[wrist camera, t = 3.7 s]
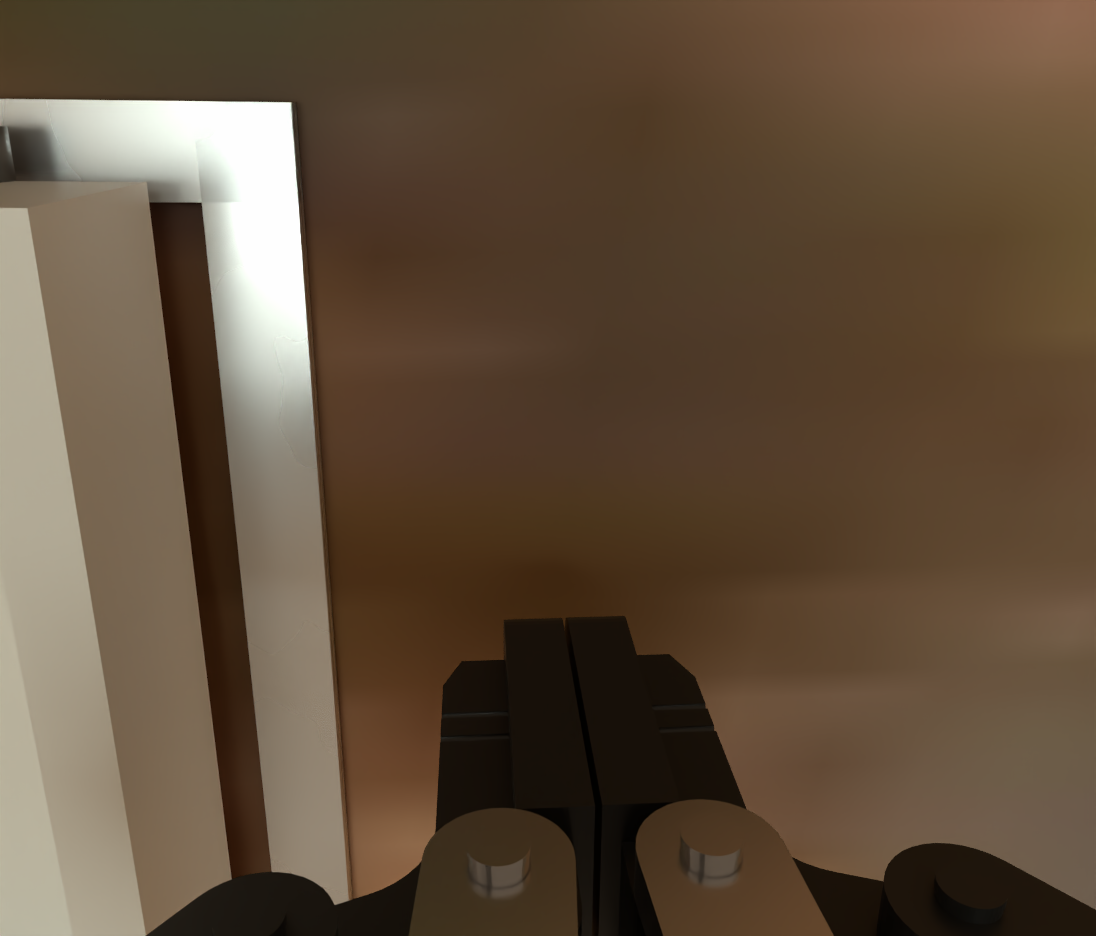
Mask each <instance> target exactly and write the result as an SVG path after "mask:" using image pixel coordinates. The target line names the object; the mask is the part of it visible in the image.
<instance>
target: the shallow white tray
mask: <svg viewBox="0 0 1096 936" xmlns="http://www.w3.org/2000/svg"><path fill="white" fill-rule="evenodd" d="M229 880H232V878H231V869H230V861H229V853H228V845H227V837H226V828H225V820H224V812H223V804H222V796H221V788H220V779H219V771H218V763H217V755H216V747H215V738H214V730H213V722H212V714H211V706H210V698H209V689H208V681H207V673H206V665H205V657H204V648H203V640H202V632H201V624H200V616H199V608H198V599H197V591H196V583H195V575H194V567H193V558H192V550H191V542H190V534H189V526H188V517H187V509H186V501H185V493H184V485H183V477H182V468H181V460H180V452H179V444H178V436H177V427H176V419H175V411H174V403H173V395H172V387H171V378H170V370H169V362H168V354H167V346H166V337H165V329H164V321H163V313H162V305H161V297H160V288H159V280H158V272H157V264H156V256H155V247H154V239H153V231H152V223H151V215H150V207H149V198H148V190H147V182H77V181H16V176H15V170H14V164H13V158H12V152H11V146H10V140H9V134H8V128H7V126H0V936H146V935H147V934H149V933H150V932H151V931H153V930H154V929H155V928H157V927H158V926H159V925H161V924H162V923H163V922H165V921H166V920H167V919H169V918H170V917H171V916H173V915H174V914H176V913H177V912H178V911H180V910H181V909H182V908H184V907H185V906H186V905H188V904H189V903H190V902H192V901H193V900H194V899H196V898H197V897H199V896H200V895H202V894H203V893H205V892H206V891H208V890H209V889H211V888H213V887H215V886H217V885H219V884H221V883H223V882H226V881H229Z"/></svg>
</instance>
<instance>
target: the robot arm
mask: <svg viewBox="0 0 1096 936" xmlns="http://www.w3.org/2000/svg"><path fill="white" fill-rule="evenodd" d="M146 936H1096V910H1095V909H1093V908H1091V907H1089V906H1088V905H1086V904H1084V903H1082V902H1080V901H1078V900H1076V899H1075V898H1073V897H1071V896H1069V895H1067V894H1065V893H1063V892H1062V891H1060V890H1058V889H1056V888H1054V887H1052V886H1050V885H1048V884H1047V883H1045V882H1043V881H1041V880H1039V879H1037V878H1035V877H1034V876H1032V875H1030V874H1028V873H1026V872H1024V871H1022V870H1021V869H1019V868H1017V867H1015V866H1013V865H1011V864H1009V863H1008V862H1006V861H1004V860H1002V859H1000V858H997V857H995V856H993V855H991V854H988V853H986V852H983V851H980V850H977V849H974V848H970V847H966V846H961V845H955V844H945V843H932V844H922V845H918V846H914V847H911V848H908V849H906V850H904V851H902V852H901V853H899V854H898V855H896V856H895V857H894V858H893V859H892V860H891V862H890V863H889V864H888V866H887V869H886V871H885V876H884V882H883V881H878V880H873V879H868V878H863V877H858V876H853V875H848V874H842V873H837V872H833V871H829V870H824V869H820V868H817V867H814V866H811V865H809V864H806V863H803V862H801V861H799V860H797V859H795V858H793V857H792V856H791V854H790V853H789V851H788V849H787V847H786V845H785V843H784V841H783V840H782V838H781V837H780V835H779V834H778V832H777V831H776V830H775V829H774V828H773V827H772V826H771V825H770V824H769V823H767V822H766V821H765V820H764V819H762V818H761V817H759V816H758V815H756V814H754V813H753V812H751V811H749V810H747V809H746V806H745V804H744V801H743V799H742V796H741V794H740V791H739V789H738V786H737V783H736V781H735V778H734V776H733V773H732V771H731V768H730V765H729V763H728V760H727V758H726V755H725V753H724V750H723V748H722V745H721V742H720V740H719V737H718V735H717V732H716V731H714V725H713V722H712V719H711V717H710V714H709V712H708V709H706V708H705V701H704V699H703V696H702V694H701V691H700V689H699V686H698V684H697V681H696V678H695V676H693V675H692V674H691V673H690V672H689V671H688V670H687V669H685V668H684V667H683V666H682V665H681V664H680V663H678V662H677V661H676V660H675V659H674V658H673V657H672V656H670V655H669V654H663V655H637V654H636V651H635V647H634V644H633V641H632V637H631V634H630V631H629V627H628V624H627V621H626V618H625V617H624V616H606V617H573V618H566V620H565V631H564V625H563V620H562V618H546V619H513V620H504V660H486V661H462V662H461V663H460V664H459V666H458V667H457V668H456V670H455V671H454V672H453V673H452V675H451V676H450V677H449V679H448V680H447V681H446V683H445V684H444V685H443V700H442V719H441V742H440V758H439V777H438V797H437V816H436V831H435V834H434V836H433V837H432V838H431V839H430V841H429V842H428V844H427V846H426V848H425V850H424V853H423V857H422V861H421V862H420V864H419V865H418V866H417V867H416V868H415V869H413V870H412V871H411V872H410V873H409V874H408V875H406V876H405V877H403V878H402V879H400V880H399V881H397V882H396V883H394V884H392V885H390V886H388V887H386V888H384V889H382V890H379V891H377V892H374V893H371V894H369V895H366V896H362V897H359V898H356V899H352V900H349V901H346V902H343V903H339V904H336V905H334V903H333V901H332V899H331V897H330V896H329V894H328V893H327V892H326V891H325V890H324V889H323V888H322V887H321V886H319V885H318V884H317V883H315V882H313V881H311V880H309V879H307V878H305V877H302V876H299V875H295V874H291V873H283V872H263V873H255V874H249V875H245V876H241V877H237V878H234V879H232V880H229V881H226V882H223V883H221V884H219V885H217V886H215V887H213V888H211V889H209V890H208V891H206V892H205V893H203V894H202V895H200V896H199V897H197V898H196V899H194V900H193V901H192V902H190V903H189V904H188V905H186V906H185V907H184V908H182V909H181V910H180V911H178V912H177V913H176V914H174V915H173V916H171V917H170V918H169V919H167V920H166V921H165V922H163V923H162V924H161V925H159V926H158V927H157V928H155V929H154V930H153V931H151V932H150V933H149V934H147V935H146Z"/></svg>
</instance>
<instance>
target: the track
mask: <svg viewBox="0 0 1096 936" xmlns="http://www.w3.org/2000/svg"><path fill="white" fill-rule="evenodd" d="M0 126H7V128H8V134H9V140H10V146H11V152H12V158H13V164H14V170H15V176H16V181H77V182H147V190H148V198H149V202H197V203H202V210H203V220H204V229H205V239H206V249H207V258H208V268H209V277H210V287H211V296H212V306H213V315H214V325H215V335H216V344H217V354H218V363H219V373H220V382H221V392H222V401H223V411H224V421H225V430H226V440H227V449H228V459H229V468H230V478H231V487H232V497H233V507H234V516H235V526H236V535H237V545H238V554H239V564H240V574H241V583H242V593H243V602H244V612H245V621H246V631H247V640H248V650H249V660H250V669H251V679H252V688H253V698H254V707H255V717H256V726H257V736H258V746H259V755H260V765H261V774H262V784H263V793H264V803H265V812H266V822H267V832H268V841H269V851H270V860H271V870H272V872H283V873H291V874H295V875H299V876H302V877H305V878H307V879H309V880H311V881H313V882H315V883H317V884H318V885H319V886H321V887H322V888H323V889H324V890H325V891H326V892H327V893H328V894H329V896H330V897H331V899H332V901H333V903H334V905H336V904H339V903H343V902H346V901H349V900H352V899H353V897H352V883H351V869H350V855H349V841H348V827H347V812H346V798H345V784H344V770H343V756H342V742H341V728H340V713H339V699H338V685H337V671H336V657H335V643H334V629H333V614H332V600H331V586H330V572H329V558H328V544H327V530H326V516H325V501H324V487H323V473H322V459H321V445H320V431H319V417H318V402H317V388H316V374H315V360H314V346H313V332H312V318H311V303H310V289H309V275H308V261H307V247H306V233H305V219H304V204H303V190H302V176H301V162H300V148H299V134H298V120H297V105H296V103H292V102H215V101H133V100H52V99H0Z"/></svg>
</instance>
